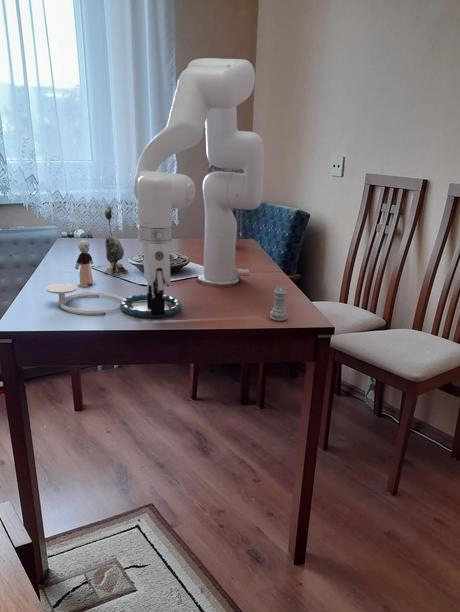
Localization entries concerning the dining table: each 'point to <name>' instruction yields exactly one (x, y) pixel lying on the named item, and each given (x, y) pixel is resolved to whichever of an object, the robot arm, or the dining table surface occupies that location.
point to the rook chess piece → (279, 305)
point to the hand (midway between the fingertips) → (155, 310)
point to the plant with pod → (114, 251)
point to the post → (144, 305)
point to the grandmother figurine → (84, 264)
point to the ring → (148, 313)
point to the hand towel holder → (70, 288)
